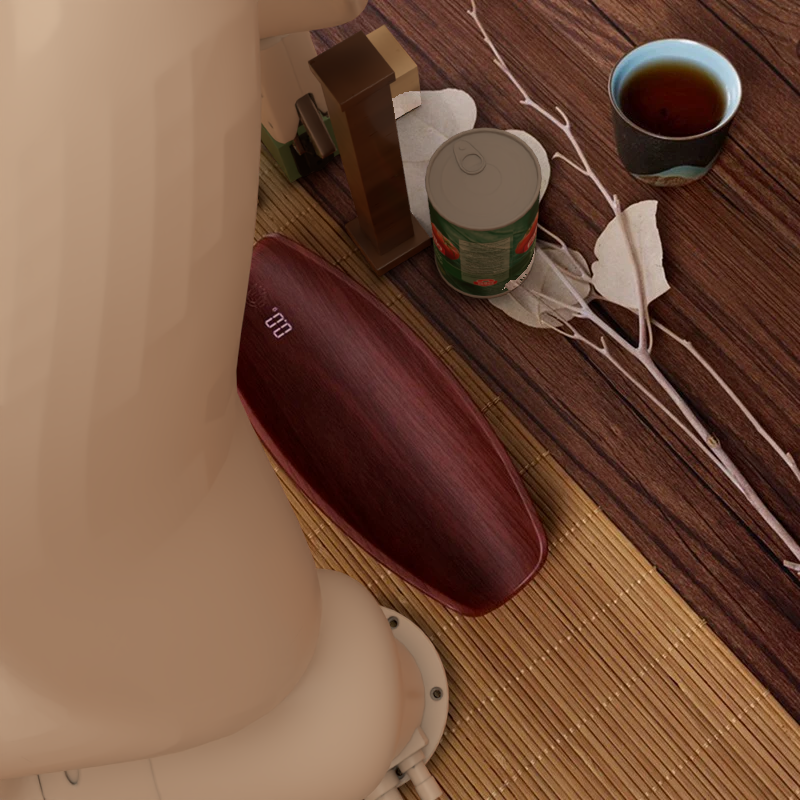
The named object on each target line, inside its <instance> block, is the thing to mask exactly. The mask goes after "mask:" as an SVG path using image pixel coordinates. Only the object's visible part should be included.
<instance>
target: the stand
mask: <svg viewBox="0 0 800 800" xmlns="http://www.w3.org/2000/svg"><path fill="white" fill-rule="evenodd" d="M366 35H367V34H365V33H364V31H363V30H359V31H357V32H355V33H354V34H353V33H352V35H350V36H348V37H347V38H345V39H343V40H341V41H340V42H338V43H336V44H334V45H333V46H331V47H329V48H328V49H326V50H325V51H323V52H321V53H319V54H317V56H316V57H314V58H313V59H311V60H309V61H308V65H309V68H310V71H311V72H312V73H313V75H314V76H315V77H316V79H317V80H318V81H319V83H320V84H321V87H322V91H323V94H324V98H325V102H326V105H327V109H328V113H329V116H330V120H331V124H332V127H333V131H334V134H335V138H336V142H337V145H338V149H339V153H340V154H339V155H340V156H339V157H340V159H341V163H342V166H343V170H344V174H345V178H346V182H347V185H348V189H349V193H350V196H351V199H352V203H353V207H354V211H355V214H356V217H355V218H353V219H351V220H349V221H348V222H347V223H345V224H344V227H345V231H346V233H347V234H348V236H349V237H350V239H351V241H352V242H353V243H354V244H355V246H356V247H357V249H358V250H359V251H360V253H361V255H362V257H364V259H365V260H366V261H367V263H368V264H369V266H370V267H371V269H372V270H373V271H374V273H375V274H376V275H377V277H378V278H380V277H381V276H384V275H385V274H386V273H388V272H390V271H392V270H393V269H395V268H396V267H398V266H400V265H401V264H404V262H406V261H408V260H409V259H411V258H412V257H414V256H416V255H417V254H419V253H422V252H423V251H424V250H426V249H427V248H429V247H430V246H432V240H431V236H430V234H429V233H428V232H427V231H426V229H425V228H424V227H423V225H422V224H421V223H420V221H419V220H418V219H417V217H416V216H415V215H414V213H413V212H412V211H411V205H410V199H409V194H408V188H407V180H406V175H405V168H404V161H403V156H402V149H401V145H400V137H399V131H398V125H397V120H396V119H395V113H394V107H393V101H392V95H391V89H390V84H391V83H393V82H395V81H396V76H395V72H394V70H393V69H392V68H391V67H390V65H389V64H388V63H387V62H386V60H385V59H384V58H383V57H382V55H381V54H380V53H379V51H378V50H377V49H376V48H375V46H374V45H373V44H372V43H371V41H370V40H369V39H368V38H367V36H366ZM412 213H413V214H412Z"/></svg>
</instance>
